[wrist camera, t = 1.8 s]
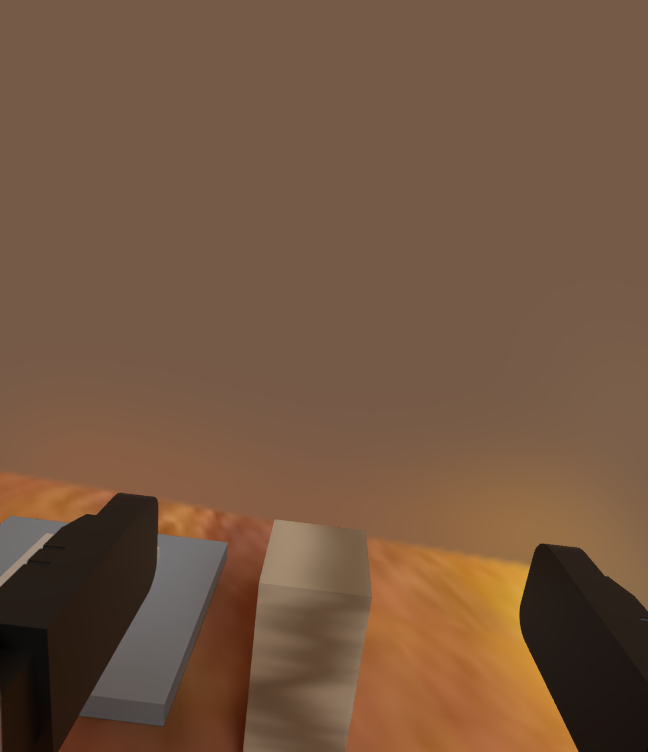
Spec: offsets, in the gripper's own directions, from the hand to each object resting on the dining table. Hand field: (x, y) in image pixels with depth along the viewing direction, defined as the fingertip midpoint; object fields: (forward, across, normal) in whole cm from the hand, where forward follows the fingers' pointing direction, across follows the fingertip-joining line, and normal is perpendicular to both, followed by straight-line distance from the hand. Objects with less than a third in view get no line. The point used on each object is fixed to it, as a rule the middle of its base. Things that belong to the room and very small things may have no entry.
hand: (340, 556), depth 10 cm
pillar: (+11, 0, +19) cm, 22 cm away
